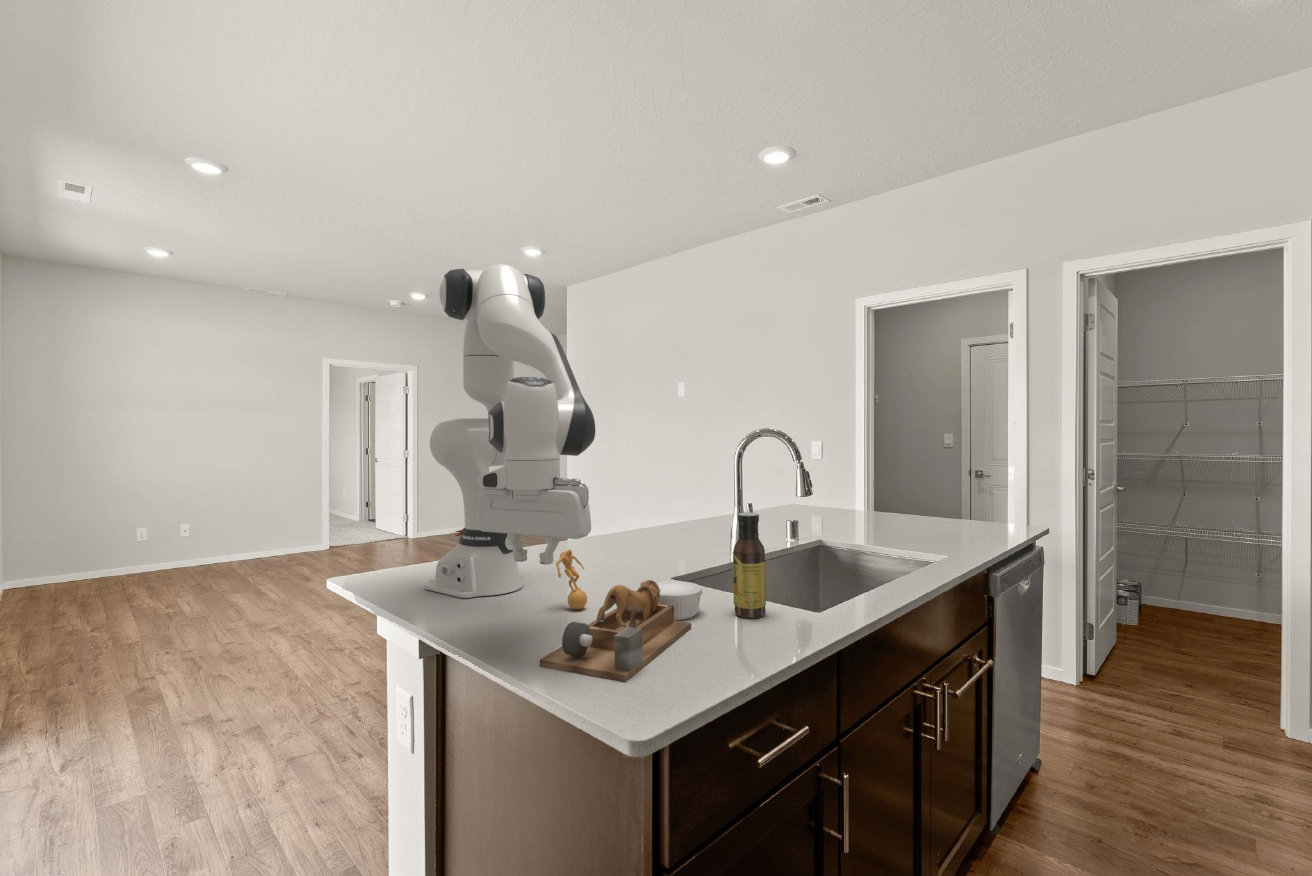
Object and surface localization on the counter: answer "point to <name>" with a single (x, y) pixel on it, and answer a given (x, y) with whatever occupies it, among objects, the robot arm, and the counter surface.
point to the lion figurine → (631, 602)
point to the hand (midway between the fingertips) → (533, 562)
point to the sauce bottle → (749, 569)
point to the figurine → (572, 580)
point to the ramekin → (680, 598)
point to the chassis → (622, 645)
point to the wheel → (576, 639)
